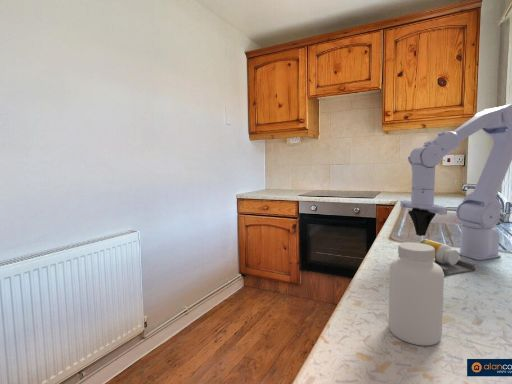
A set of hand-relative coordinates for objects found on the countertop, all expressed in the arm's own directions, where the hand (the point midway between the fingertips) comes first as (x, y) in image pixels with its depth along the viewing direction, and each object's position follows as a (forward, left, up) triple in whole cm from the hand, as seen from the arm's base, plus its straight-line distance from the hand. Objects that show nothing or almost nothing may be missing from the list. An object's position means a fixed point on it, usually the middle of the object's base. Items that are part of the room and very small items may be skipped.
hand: (420, 235), depth 87 cm
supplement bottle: (-1, 0, -4) cm, 4 cm away
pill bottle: (+32, +30, -7) cm, 44 cm away
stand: (0, +7, -7) cm, 10 cm away
